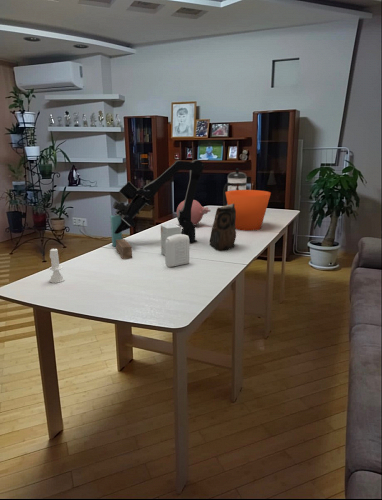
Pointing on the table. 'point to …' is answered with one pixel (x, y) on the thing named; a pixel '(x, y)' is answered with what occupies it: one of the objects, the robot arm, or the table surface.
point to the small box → (168, 234)
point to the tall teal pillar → (114, 225)
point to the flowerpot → (248, 208)
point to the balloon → (195, 211)
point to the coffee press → (234, 183)
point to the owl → (224, 228)
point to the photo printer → (176, 250)
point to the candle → (55, 267)
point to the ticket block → (124, 248)
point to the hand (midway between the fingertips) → (113, 231)
